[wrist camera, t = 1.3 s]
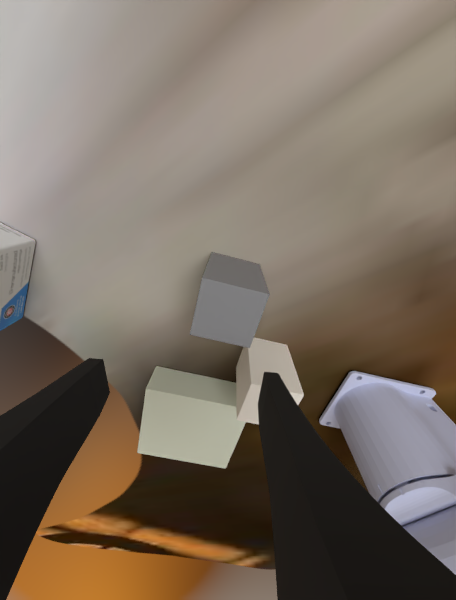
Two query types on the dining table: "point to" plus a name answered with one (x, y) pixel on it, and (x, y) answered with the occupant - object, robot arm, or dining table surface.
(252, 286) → the grey rectangular prism
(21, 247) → the ink box
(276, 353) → the off-white pillar
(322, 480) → the robot arm
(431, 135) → the dining table surface
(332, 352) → the dining table surface
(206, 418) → the sage board
